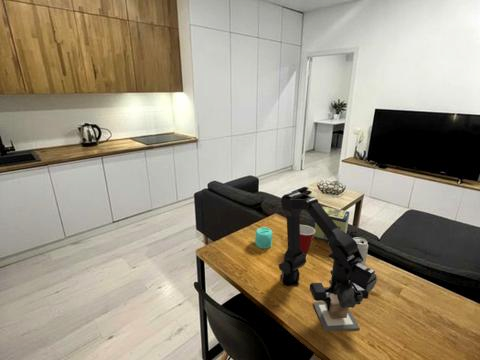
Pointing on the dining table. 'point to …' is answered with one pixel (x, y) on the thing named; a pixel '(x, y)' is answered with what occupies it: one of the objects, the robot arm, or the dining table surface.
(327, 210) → the protein box
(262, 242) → the turquoise cylinder
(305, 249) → the plastic cup
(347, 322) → the coaster
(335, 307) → the cube
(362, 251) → the can
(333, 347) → the dining table surface
